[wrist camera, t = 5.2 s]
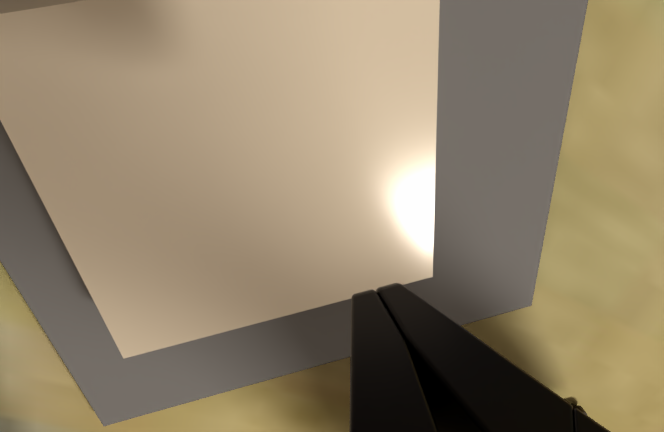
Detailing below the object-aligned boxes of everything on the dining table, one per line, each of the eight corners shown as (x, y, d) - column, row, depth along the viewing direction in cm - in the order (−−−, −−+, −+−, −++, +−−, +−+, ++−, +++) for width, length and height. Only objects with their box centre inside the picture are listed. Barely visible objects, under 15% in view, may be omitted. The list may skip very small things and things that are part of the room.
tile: (432, 276, 16) (123, 358, 14) (413, 246, 17) (126, 319, 16) (441, -58, 10) (-51, 22, 9) (412, -68, 12) (-26, 0, 10)
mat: (525, 298, 21) (531, 305, 20) (104, 416, 18) (103, 425, 18) (643, -376, 10) (659, -383, 10) (-340, -310, 8) (-362, -317, 7)
